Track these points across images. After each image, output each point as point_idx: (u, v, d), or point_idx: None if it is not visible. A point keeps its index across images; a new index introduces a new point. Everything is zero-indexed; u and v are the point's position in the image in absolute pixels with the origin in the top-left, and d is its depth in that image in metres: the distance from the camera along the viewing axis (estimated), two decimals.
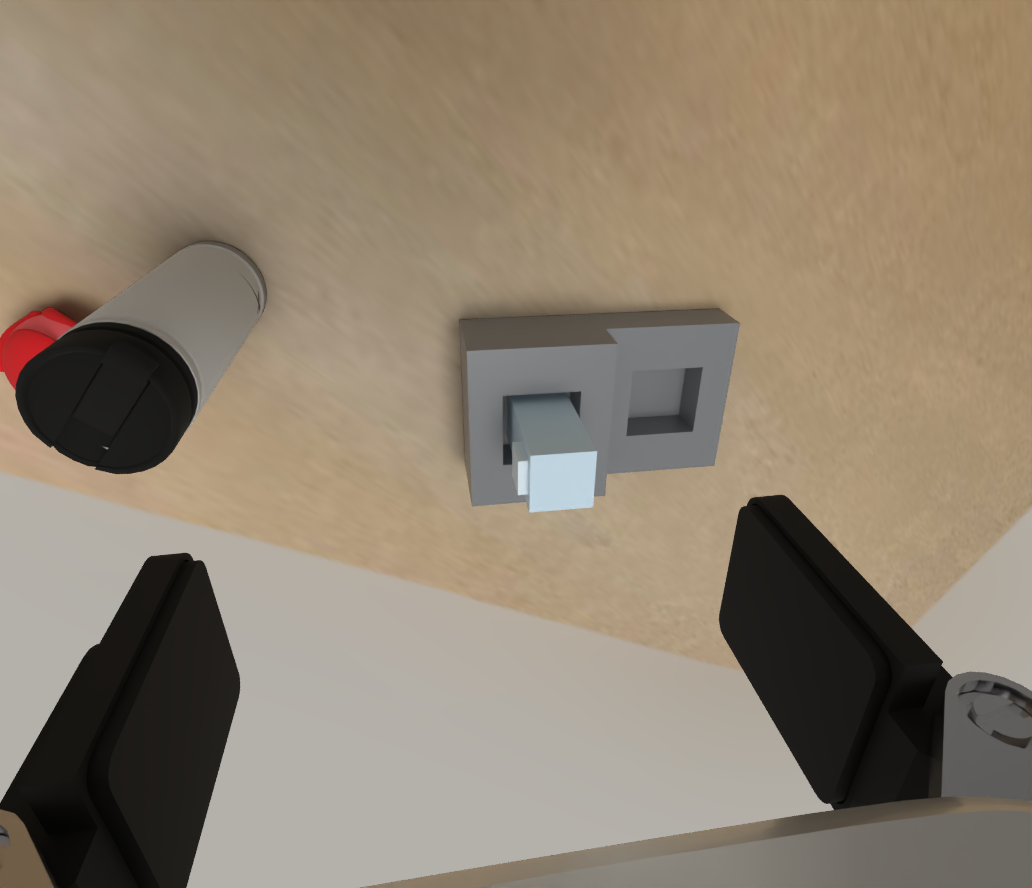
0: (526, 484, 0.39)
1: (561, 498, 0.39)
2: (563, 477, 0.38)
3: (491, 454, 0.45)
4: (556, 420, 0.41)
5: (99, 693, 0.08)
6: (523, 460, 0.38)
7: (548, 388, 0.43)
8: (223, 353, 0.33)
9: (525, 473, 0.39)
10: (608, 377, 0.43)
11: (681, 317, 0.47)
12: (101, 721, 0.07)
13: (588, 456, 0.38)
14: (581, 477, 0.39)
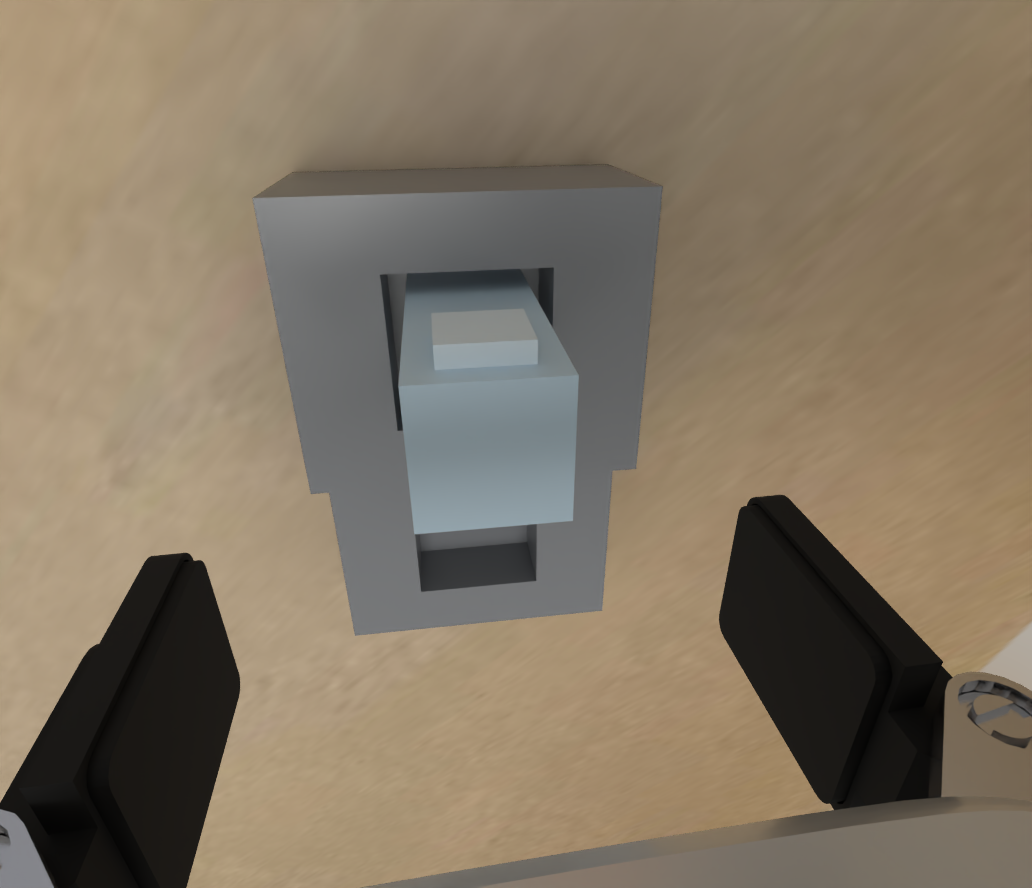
0: (466, 365, 0.15)
1: (443, 461, 0.15)
2: (506, 460, 0.15)
3: (409, 245, 0.19)
4: None
5: (99, 693, 0.08)
6: (537, 352, 0.15)
7: None
8: None
9: (500, 360, 0.15)
10: None
11: None
12: (101, 721, 0.07)
13: (561, 505, 0.16)
14: (504, 497, 0.16)
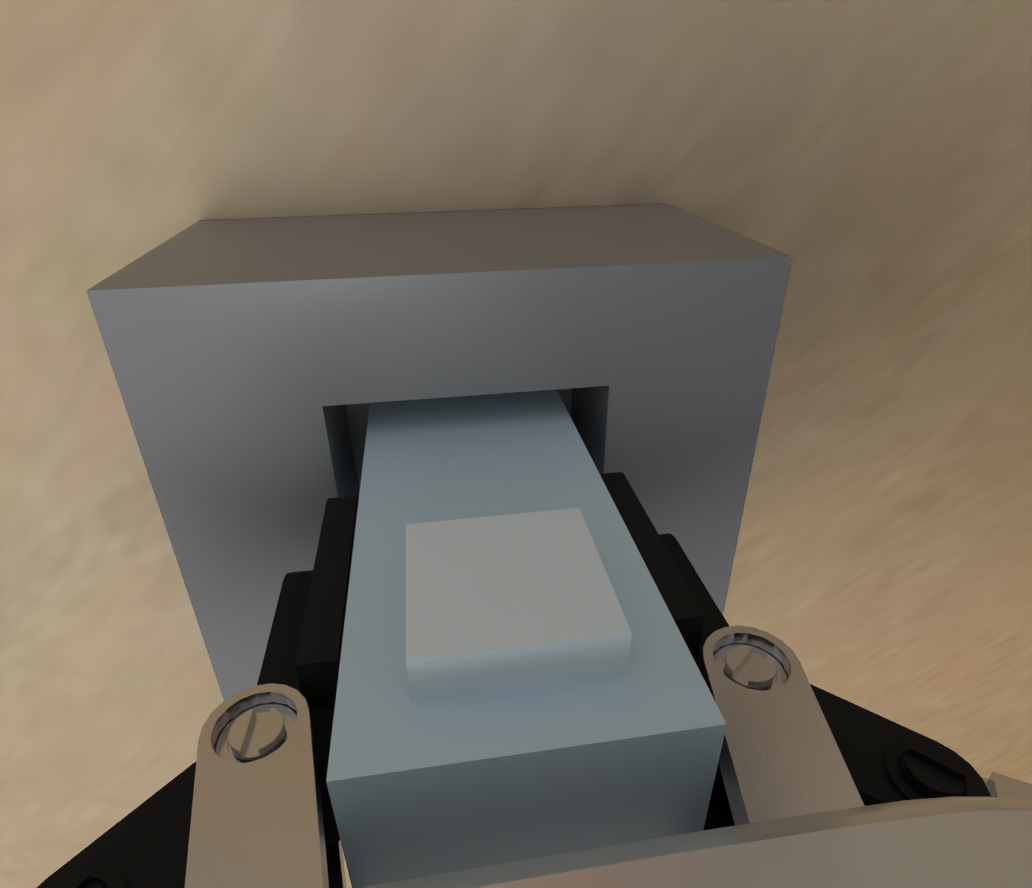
0: (478, 687, 0.07)
1: None
2: None
3: (371, 359, 0.11)
4: None
5: (330, 599, 0.09)
6: (627, 650, 0.07)
7: None
8: None
9: (551, 673, 0.07)
10: None
11: None
12: (341, 618, 0.09)
13: None
14: None
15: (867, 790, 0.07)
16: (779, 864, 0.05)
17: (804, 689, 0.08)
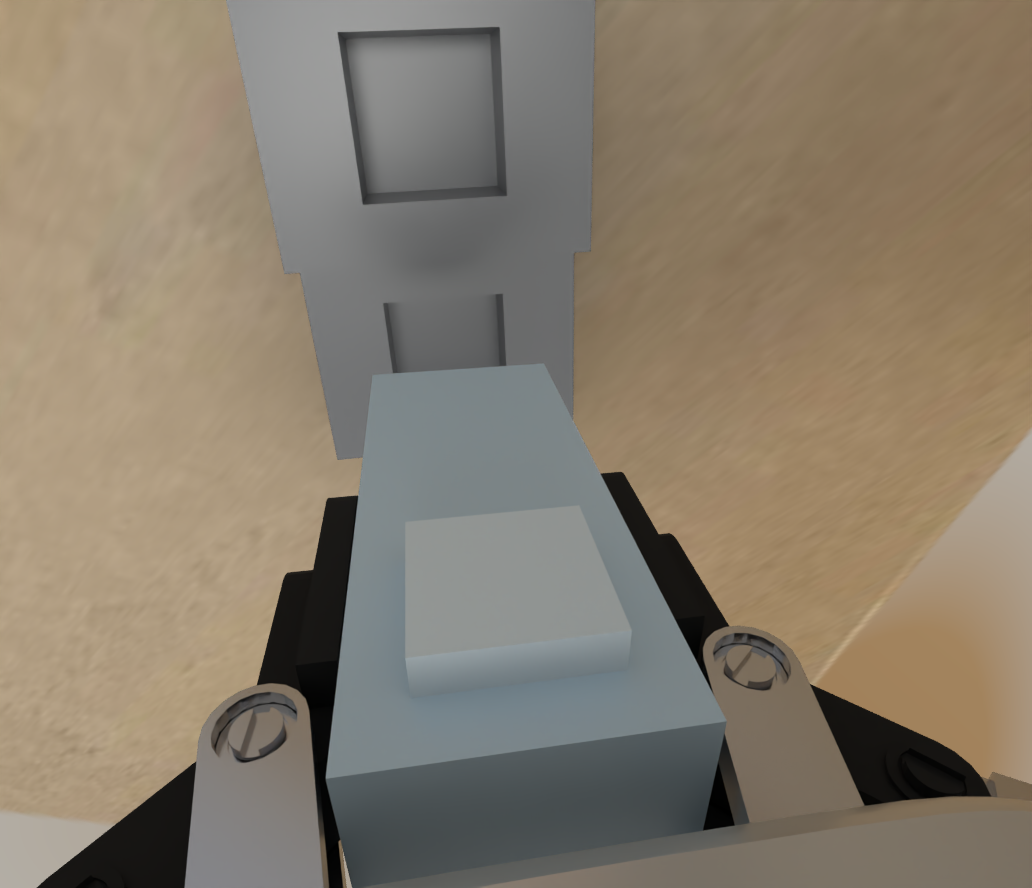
0: (478, 684, 0.07)
1: None
2: None
3: (363, 0, 0.21)
4: None
5: (330, 599, 0.09)
6: (627, 647, 0.07)
7: (513, 128, 0.23)
8: None
9: (551, 670, 0.07)
10: (532, 243, 0.25)
11: None
12: (341, 618, 0.09)
13: None
14: None
15: (867, 790, 0.07)
16: (779, 864, 0.05)
17: (804, 689, 0.08)
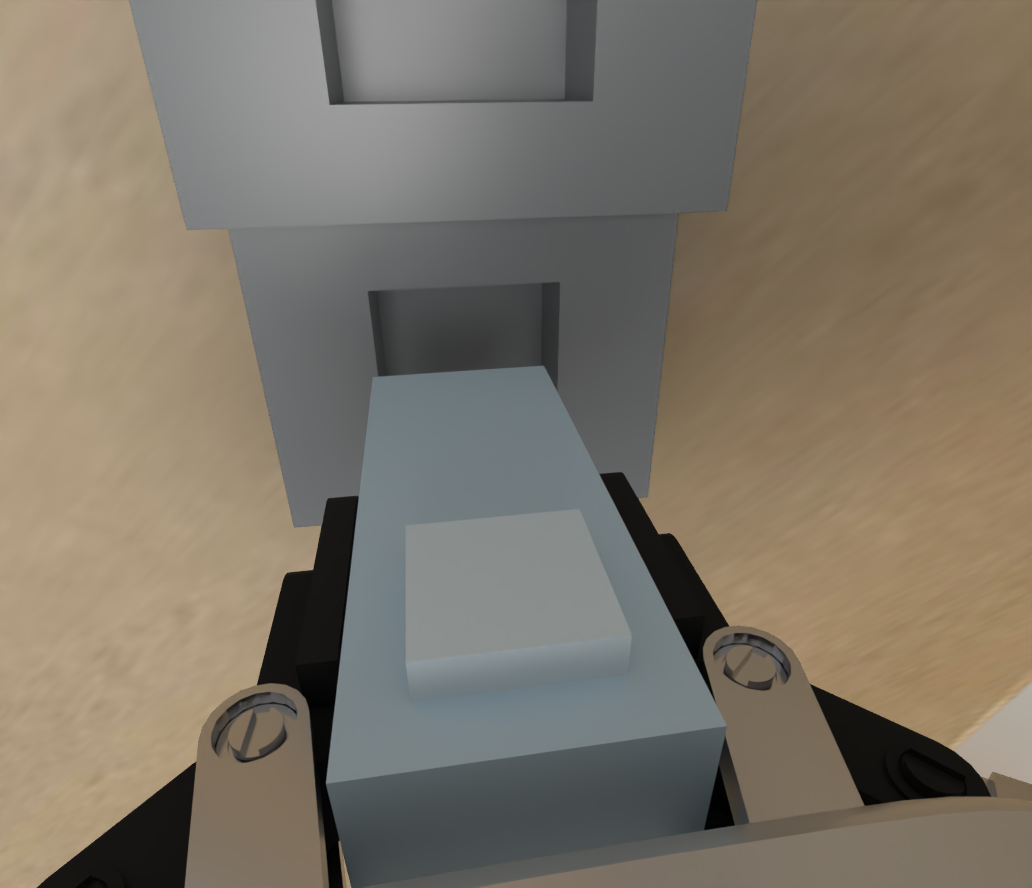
0: (478, 688, 0.07)
1: None
2: None
3: None
4: None
5: (330, 599, 0.09)
6: (627, 651, 0.07)
7: None
8: None
9: (551, 675, 0.07)
10: (628, 193, 0.14)
11: None
12: (342, 618, 0.09)
13: None
14: None
15: (867, 790, 0.07)
16: (779, 864, 0.05)
17: (804, 689, 0.08)
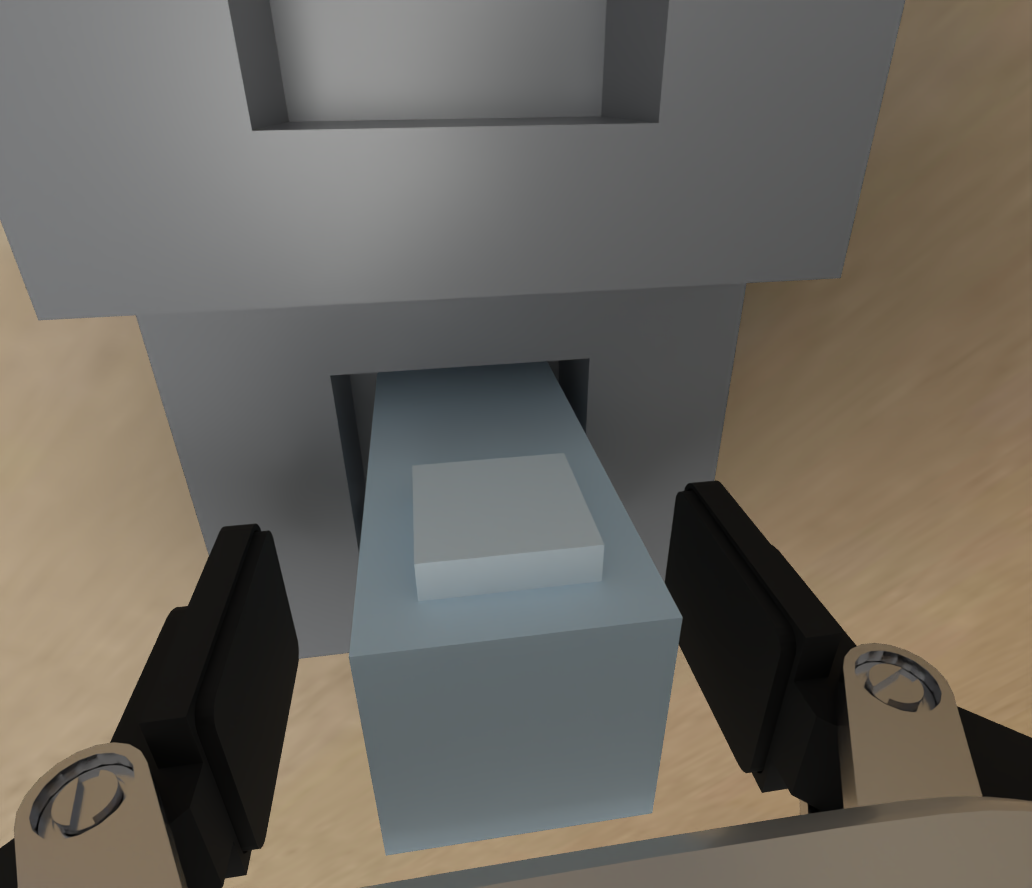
0: (475, 590, 0.08)
1: (434, 756, 0.08)
2: (546, 745, 0.09)
3: None
4: None
5: (196, 644, 0.08)
6: (601, 561, 0.08)
7: None
8: None
9: (536, 579, 0.08)
10: (704, 255, 0.10)
11: None
12: (203, 666, 0.08)
13: (634, 795, 0.09)
14: (541, 794, 0.09)
15: (1022, 797, 0.07)
16: (779, 864, 0.05)
17: (952, 720, 0.07)
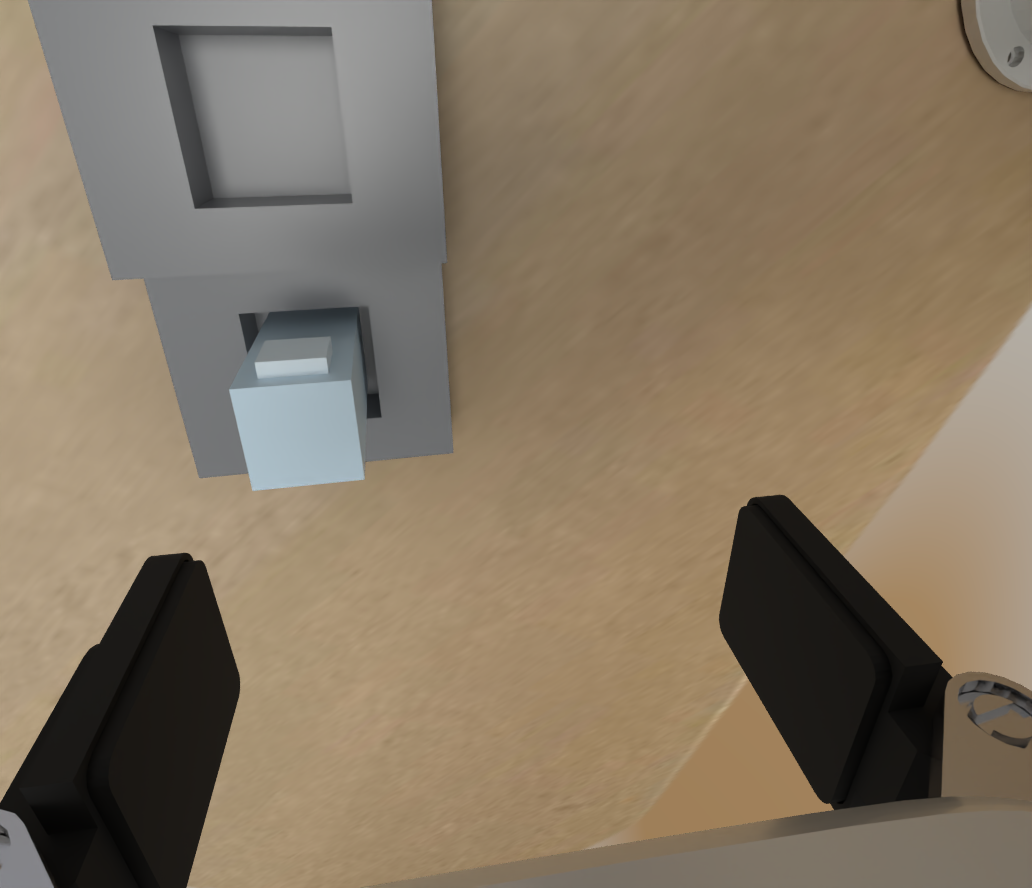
0: (279, 375, 0.22)
1: (266, 439, 0.23)
2: (310, 437, 0.23)
3: None
4: (361, 395, 0.27)
5: (99, 693, 0.08)
6: (327, 365, 0.23)
7: (354, 133, 0.22)
8: None
9: (302, 371, 0.23)
10: (383, 254, 0.24)
11: None
12: (102, 720, 0.07)
13: (354, 468, 0.24)
14: (313, 463, 0.23)
15: None
16: (779, 864, 0.05)
17: None
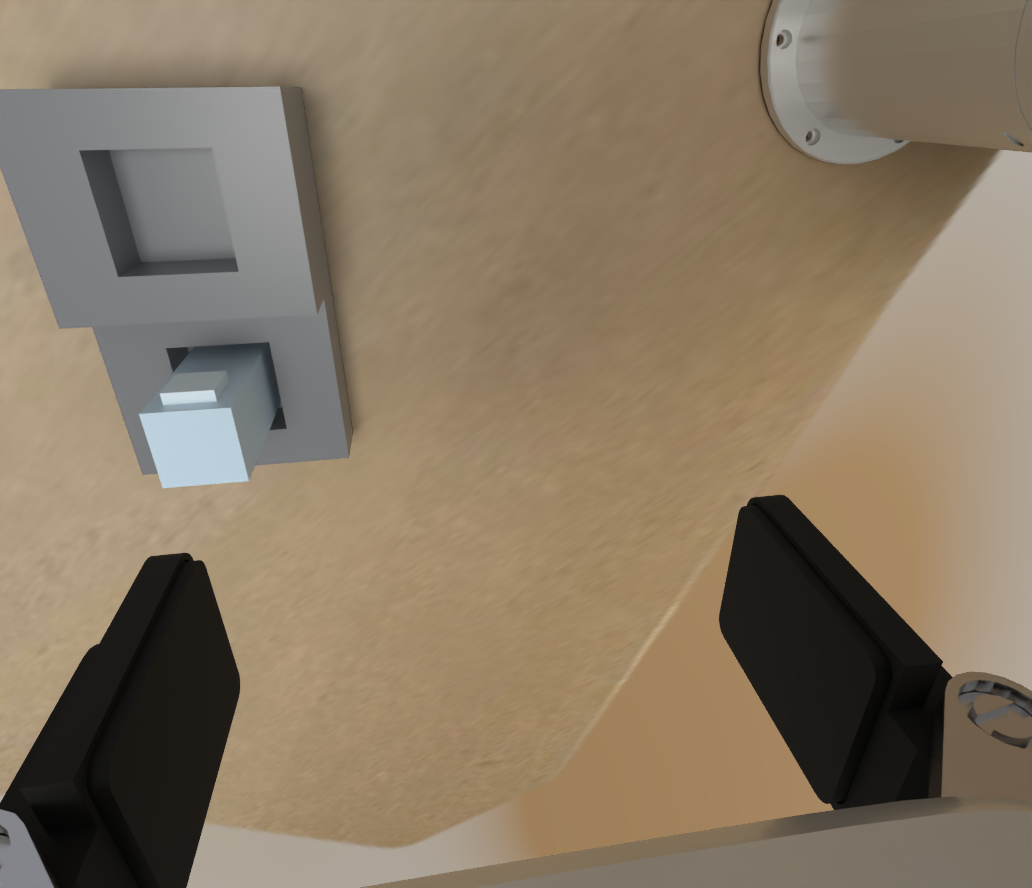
0: (179, 402, 0.30)
1: (169, 450, 0.30)
2: (203, 449, 0.30)
3: (97, 128, 0.27)
4: (259, 414, 0.35)
5: (99, 693, 0.07)
6: (216, 395, 0.30)
7: (235, 221, 0.30)
8: None
9: (196, 400, 0.30)
10: (266, 308, 0.32)
11: (342, 391, 0.39)
12: (101, 721, 0.07)
13: (239, 472, 0.31)
14: (207, 468, 0.31)
15: None
16: (779, 864, 0.05)
17: None
